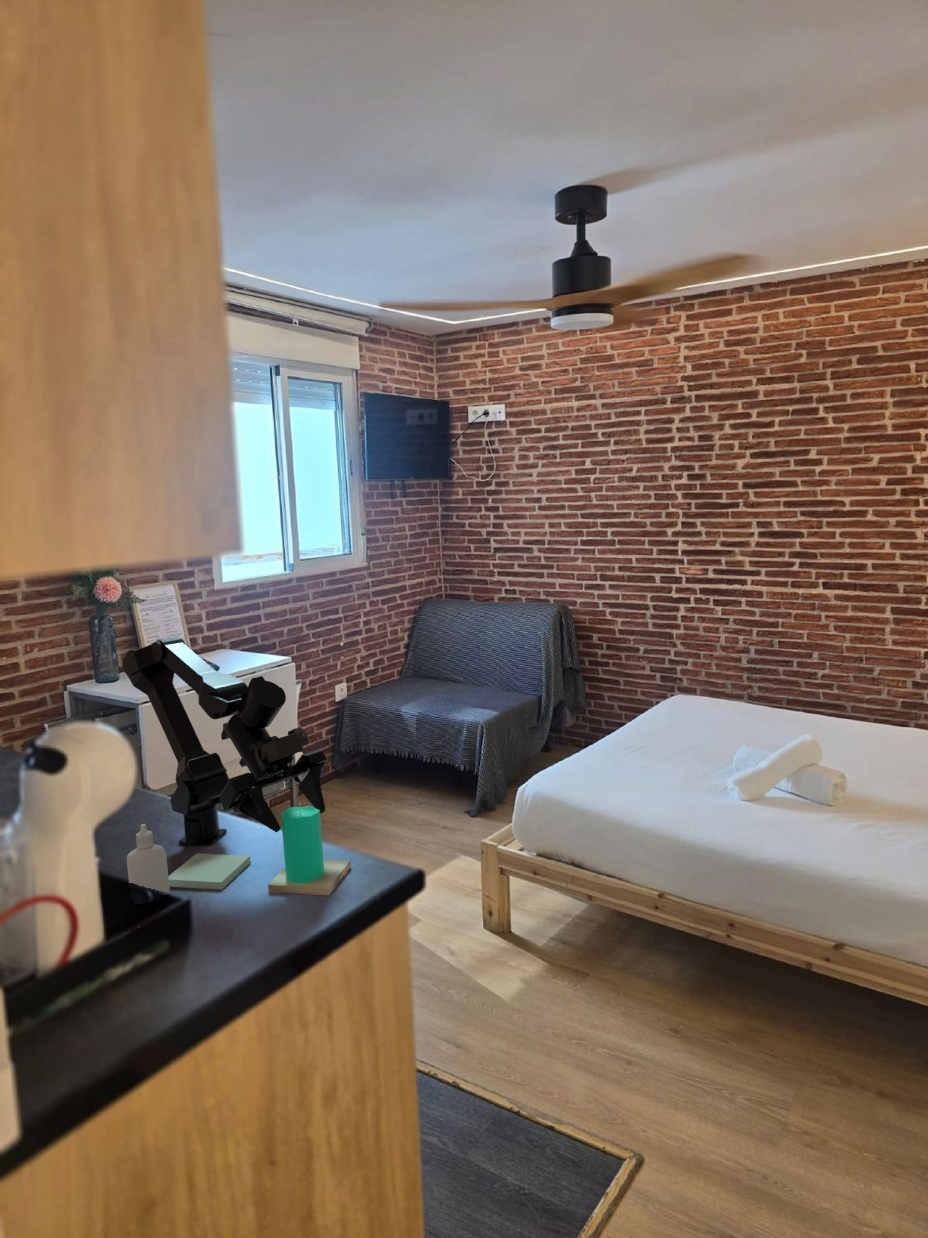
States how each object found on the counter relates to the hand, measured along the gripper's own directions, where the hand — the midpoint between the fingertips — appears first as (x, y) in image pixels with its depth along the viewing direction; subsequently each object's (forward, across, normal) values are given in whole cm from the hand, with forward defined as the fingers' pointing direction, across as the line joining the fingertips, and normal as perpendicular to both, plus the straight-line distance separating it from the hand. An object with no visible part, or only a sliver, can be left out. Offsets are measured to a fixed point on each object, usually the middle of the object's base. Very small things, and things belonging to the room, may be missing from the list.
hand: (301, 821), depth 132 cm
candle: (+7, -1, +5) cm, 9 cm away
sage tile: (-4, -8, +17) cm, 19 cm away
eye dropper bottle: (-4, -19, +18) cm, 26 cm away
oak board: (+8, 0, +6) cm, 10 cm away
